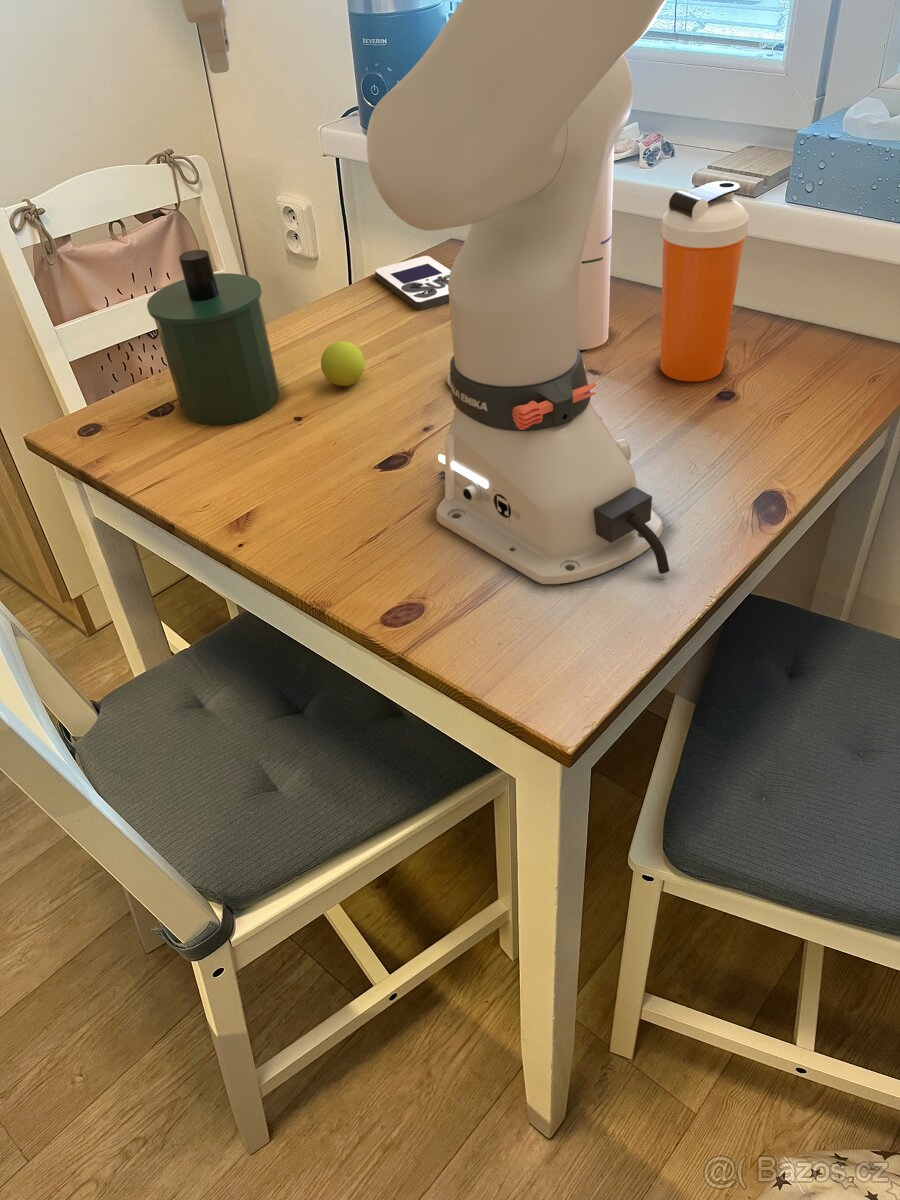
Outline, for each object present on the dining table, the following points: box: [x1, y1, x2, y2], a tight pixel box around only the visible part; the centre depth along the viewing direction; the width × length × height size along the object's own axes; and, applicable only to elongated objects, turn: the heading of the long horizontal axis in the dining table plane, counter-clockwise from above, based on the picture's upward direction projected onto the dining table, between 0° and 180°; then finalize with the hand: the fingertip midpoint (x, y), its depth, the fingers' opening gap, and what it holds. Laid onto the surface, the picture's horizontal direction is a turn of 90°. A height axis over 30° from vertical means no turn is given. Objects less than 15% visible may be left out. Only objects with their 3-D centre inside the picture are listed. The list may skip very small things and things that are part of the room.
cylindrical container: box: [577, 145, 615, 351], centre depth 110 cm, size 7×7×25 cm
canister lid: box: [146, 249, 263, 325], centre depth 103 cm, size 13×13×6 cm
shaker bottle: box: [660, 180, 750, 383], centre depth 103 cm, size 9×9×20 cm
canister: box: [154, 299, 280, 426], centre depth 108 cm, size 12×12×12 cm
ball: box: [320, 340, 366, 387], centre depth 112 cm, size 5×5×5 cm
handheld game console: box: [374, 255, 451, 311], centre depth 134 cm, size 9×15×1 cm, turn 27°
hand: (220, 61), depth 90 cm, fingers open, 8 cm apart
